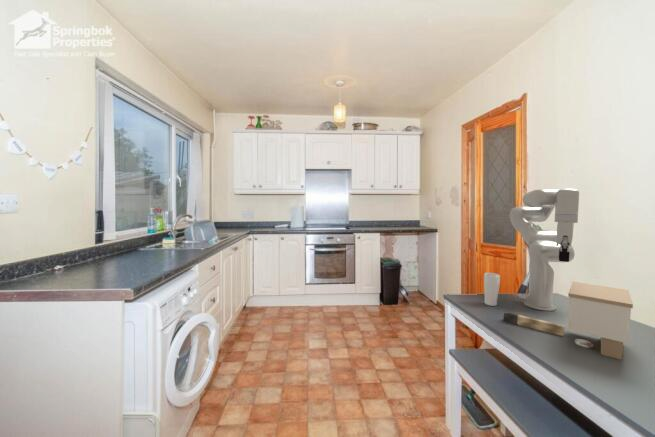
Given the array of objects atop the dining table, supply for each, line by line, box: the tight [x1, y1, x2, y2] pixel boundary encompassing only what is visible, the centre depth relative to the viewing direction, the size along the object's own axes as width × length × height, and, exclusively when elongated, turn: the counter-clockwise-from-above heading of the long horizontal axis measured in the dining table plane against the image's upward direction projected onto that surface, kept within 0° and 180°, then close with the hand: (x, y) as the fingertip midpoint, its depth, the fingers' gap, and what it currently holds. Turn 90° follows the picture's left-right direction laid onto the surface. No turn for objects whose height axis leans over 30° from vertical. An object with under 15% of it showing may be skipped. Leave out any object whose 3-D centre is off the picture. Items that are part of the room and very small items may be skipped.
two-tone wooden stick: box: [502, 311, 565, 337], centre depth 121 cm, size 20×2×4 cm, turn 48°
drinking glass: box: [483, 272, 501, 307], centre depth 146 cm, size 7×7×15 cm
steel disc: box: [574, 338, 594, 349], centre depth 107 cm, size 5×5×1 cm
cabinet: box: [566, 281, 634, 360], centre depth 106 cm, size 16×21×19 cm
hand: (563, 259), depth 125 cm, fingers open, 9 cm apart
